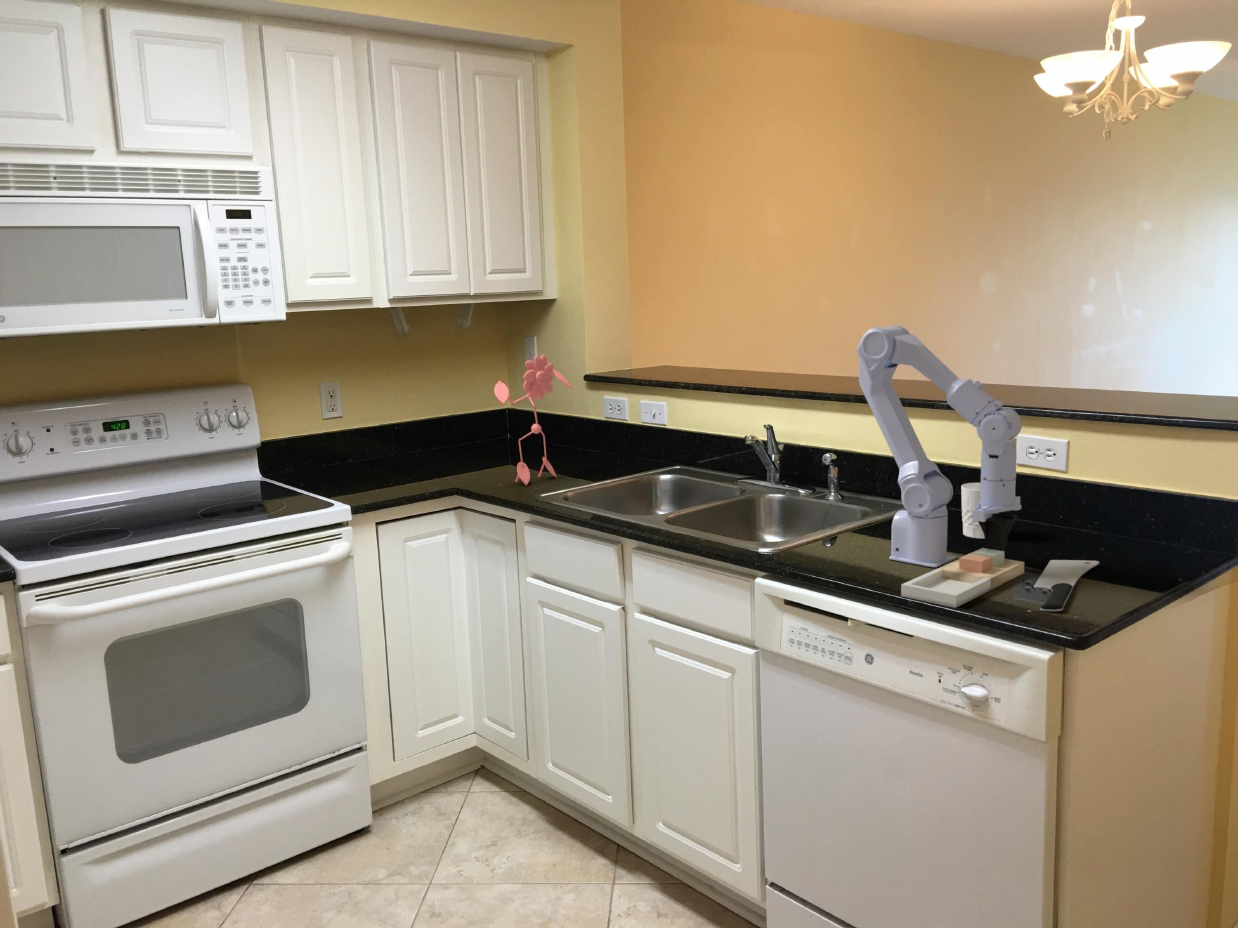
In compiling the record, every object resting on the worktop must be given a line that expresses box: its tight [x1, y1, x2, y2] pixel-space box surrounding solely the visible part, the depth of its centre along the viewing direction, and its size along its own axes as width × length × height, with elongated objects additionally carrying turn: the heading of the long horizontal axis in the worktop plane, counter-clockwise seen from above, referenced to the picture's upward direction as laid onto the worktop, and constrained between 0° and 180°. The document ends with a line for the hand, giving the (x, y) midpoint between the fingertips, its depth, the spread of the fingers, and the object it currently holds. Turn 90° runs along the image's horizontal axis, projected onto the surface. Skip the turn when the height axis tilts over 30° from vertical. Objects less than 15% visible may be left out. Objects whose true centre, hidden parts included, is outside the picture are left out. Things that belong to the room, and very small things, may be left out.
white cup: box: [960, 482, 985, 539], centre depth 200 cm, size 8×8×10 cm
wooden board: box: [937, 558, 1025, 591], centre depth 172 cm, size 10×13×2 cm
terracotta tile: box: [958, 552, 993, 573], centre depth 170 cm, size 4×4×2 cm
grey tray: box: [900, 568, 991, 609], centre depth 164 cm, size 10×12×2 cm
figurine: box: [493, 354, 574, 487], centre depth 269 cm, size 15×26×35 cm, turn 140°
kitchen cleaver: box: [1033, 559, 1100, 614], centre depth 167 cm, size 31×2×10 cm
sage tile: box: [971, 547, 1006, 567], centre depth 173 cm, size 4×4×2 cm
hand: (995, 553), depth 175 cm, fingers closed
